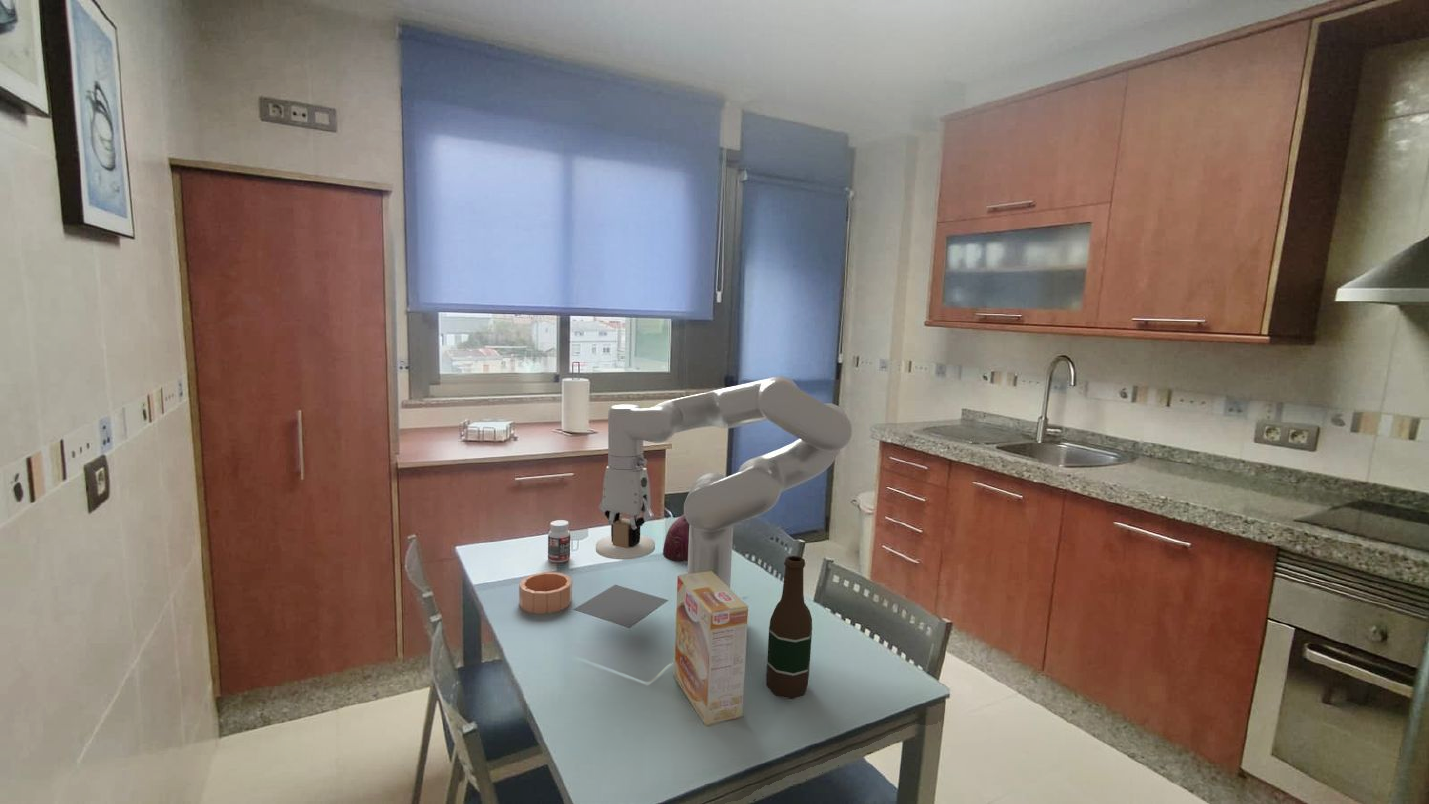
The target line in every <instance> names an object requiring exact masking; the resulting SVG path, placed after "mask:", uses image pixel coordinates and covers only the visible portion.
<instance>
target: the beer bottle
mask: <svg viewBox="0 0 1429 804" xmlns="http://www.w3.org/2000/svg"><path fill="white" fill-rule="evenodd" d="M783 564H784V566H785V569H784V578H783V585H782V593H781V598H780V601H779V602H778V603H777V604H776V605H775V607H774V609H773V611H772V614H771V616H770V620H769V627H768V638H767V639H768V640H767V641H768V642H767V643H768V644H767V656H766V658H767V659H766V675H765V676H766V677H765V678H766V679H765V681H766V683H765V684H766V687H767V688H768V689H769V691H771V692H772V693H773V694H774V695H775V696H776V697H781V698H785V699H786V698H787V699H795V698H799V697H803V696H805V695H806V692H807V689H808V684H809V680H810V679H809V678H810V664H811V654H812V652H811V650H812V639H813V638H812V637H813V636H812V635H813V618H812V615H811V611H810V609H809V607H808V605H806V603H805V597H804V568H805V567H806V560H805V559H804V558H803V557H801V556H798V555H791V556H786V557H785V561H784V563H783Z"/></svg>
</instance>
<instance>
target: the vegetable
mask: <svg viewBox="0 0 1429 804" xmlns="http://www.w3.org/2000/svg"><path fill="white" fill-rule="evenodd" d="M689 527H690V524H689V523H688V522H687V520H686V518H685V514H684V513H683V514H682V515H680V516H679V517H678V518H677V519H676V520H675V521H673V522H672V524H671V525H670V527H668V528H669V529H668V531H666V532H667V533H666V536H665V540H664V543H663V549H662V555H663V556H664V558H666V559H668V560H670V561H674V562H679V563H680V562H682V563H683V562H688V545H689Z"/></svg>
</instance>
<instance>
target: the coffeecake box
mask: <svg viewBox="0 0 1429 804" xmlns="http://www.w3.org/2000/svg"><path fill="white" fill-rule="evenodd" d="M676 579H677V584H676V585H677V586H676V587H677V588H676V610H675V611H676V612H675V613H676V615H675V616H676V617H675V639H674V640H675V641H674V642H675V643H674V644H675V645H674V671H673V673H674V674H673V678H674V679H675V681H676V682H677V683H678V685H679V687H680V688H681V690H682V692H683V694H685V697H687V699H688V700H689V702H690V703H691V705H692V707H693V708H694V709H695V711H696V713H697V714H698V715H699V717H700V718H701V720H702V722H703V723H704V725H705V726H711V725H714V724H719V723H721V722H725V721H730V720H735V719H739V718H743V716H744V715H743V713H744V693H745V692H744V691H745V675H746V674H745V673H746V672H745V670H746V657H747V655H746V654H747V638H748V637H747V633H748V614H749V605H747V603H745V601H743V600H742V598H740V597H739V596H738V595H737V594H736V593H735V592H734V591H733V590H732V589H731V587H730V588H729V587H728V586H727V585H726V584H725V583H724V582H723V581H722V580H721V579H720V578H718V577H717V576H716V575H715V574H714V573H713V572H712V571H707V572H700V573H692V574H691V573H688V574H687V573H683V574H678V575H677V578H676Z"/></svg>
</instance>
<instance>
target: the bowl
mask: <svg viewBox="0 0 1429 804" xmlns="http://www.w3.org/2000/svg"><path fill="white" fill-rule="evenodd" d="M518 585H519V587H518V594H519V595H518V598H519V599H518V601H519V603H518V604H519V606H520V607H521V609H522V610H523V611H525V612H528V613H531V614H542V615H543V614H551V613H555V612H561V611H563V610H564V609H566V608H567V607H569V606H570V605H571V604H572V603H571V602H572V600H573V596H572V595H573V579H572V578H571V577H570V576H569V575H568V574H564V573H561V572H558V571H557V572H555V571H554V572H553V571H552V572H549V571H547V572H546V571H544V572H539V573H533V574H531V575H529V576H527V577H524V578H522V580H521V581H520V583H519V584H518Z"/></svg>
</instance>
